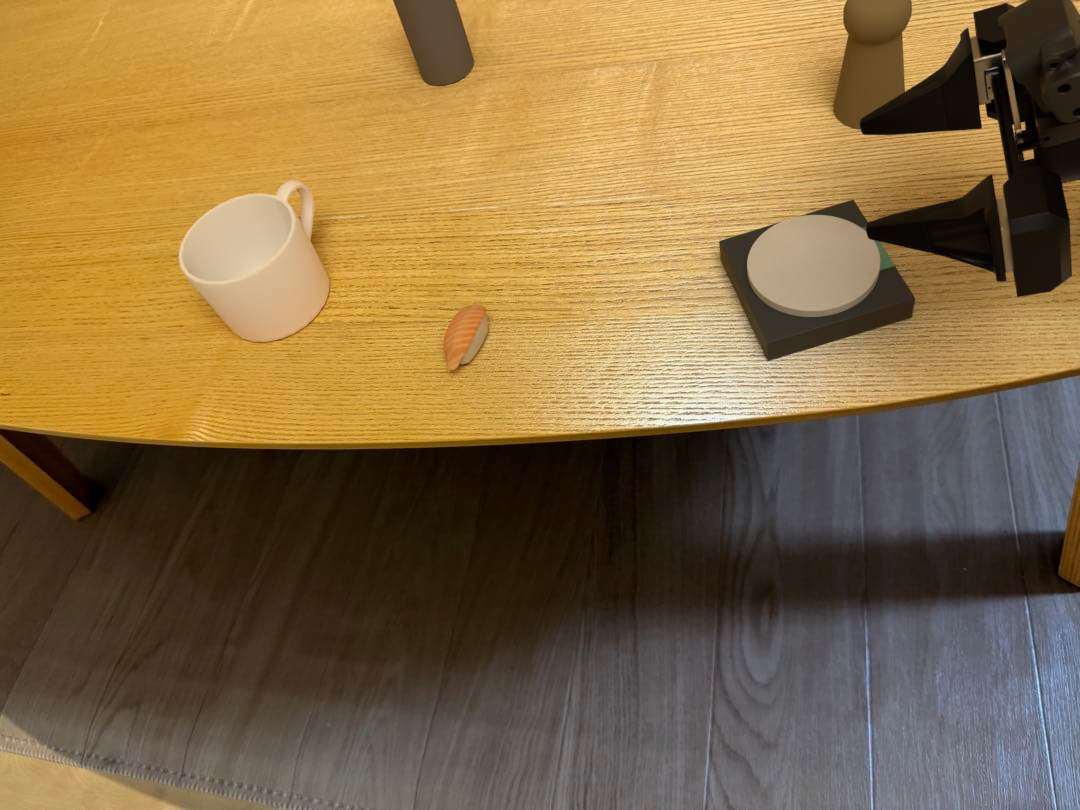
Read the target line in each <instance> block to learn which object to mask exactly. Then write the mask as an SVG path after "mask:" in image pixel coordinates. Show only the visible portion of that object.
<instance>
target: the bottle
mask: <svg viewBox="0 0 1080 810" xmlns="http://www.w3.org/2000/svg"><path fill="white" fill-rule="evenodd" d="M392 1H393V4H394V7H395V9H396V13H397V15H398V18H399V21H400V24H401V26H402V29H403V31H404V34H405V36H406V39H407V42H408V44H409V47H410V50H411V52H412V55H413V58H414V60H415V64H416V66H417V69H418V71H419V73H420V76H421V78H422V80H423V81H424V82H425V83H427V84H429V85H431V86H447V85H451V84H454V83H457V82H458V81H460V80H462V79H464V78H465V77H466V76H468V75H469V74H470V72H471V71H472V69H473V68H474V66H475V65H474V64H475V58H474V56H473V52H472V48H471V46H470V43H469V39H468V35H467V32H466V28H465V25H464V22H463V19H462V16H461V14H460V10H459V7H458V4H457V0H392Z"/></svg>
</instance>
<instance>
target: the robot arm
mask: <svg viewBox="0 0 1080 810" xmlns="http://www.w3.org/2000/svg"><path fill="white" fill-rule="evenodd" d="M972 15H973V23H974V31H975V35H974V36H970V29H969V27H966V28H965V29H963V30H962V31H961V33H960V34H959V37H960V38H959V39H960V40H959V42H958V44H957V45H956V47H955V49H954V50H953V51H952V53H951V54H950V55H949V58H948V59H947V60H946V62H945V63H944V64H943V65H942V66H941V67H939V69H937V70H936V71H935V72H933V73H932V74H930V75H929V76H927V77H926V78H925V79H923V80H921V81H920V82H919V83H917V84H915V85H914V86H912V87H911V88H909V89H907V90H905V92H904V93H902V94H900V95H899V96H897V97H896V98H894V99H892V100H891V101H889V102H887V103H886V104H884V105H882V106H881V107H879V108H877V109H876V110H874V111H872V112H871V113H869V114H867V115H866V116H864V117H863V118H861V119H860V128H861V129H860V131H861V134H862V135H864V136H896V135H911V134H924V133H926V134H927V133H939V132H940V133H941V132H957V131H973V130H981V129H983V126H982V125H983V124H982V118H981V117H982V115H981V110H980V109H981V108H980V106H984V105H985V112H986V118H989V119H992V120H996V121H997V123H998V130H999V135H1000V141H1001V147H1002V152H1003V158H1004V164H1005V169H1006V174H1007V180H1006V181H1005V182H1004V183H1003V184H1002V192H1003V193H1002V194H1003V197H1001V198H997V195H996V190H995V183H994V177H993V174H992V173H991V174H989V175H987V176H986V177H984V179H982V180H981V181H980V182H978V184H976V185H975V186H974V187H973V188H972V189H970V190H969V191H968V192H967V193H966V194H964V195H962V196H961V197H958V198H954V199H950V200H947V201H942V202H938V203H934V204H933V203H932V204H929V205H925V206H921V207H917V208H913V209H909V210H904V211H900V212H896V213H892V214H889V215H886V216H883V217H879V218H876V219H874V220H871V221H870V220H869V221H867V222H868V223H867V224H866V225H865V228H866V233H867V236H868V238H869V239H871V240H875V241H879V242H881V243H884V244H888V245H893V246H896V247H902V248H907V249H911V250H915V251H918V252H919V251H920V252H924V253H928V254H931V255H936V256H940V257H944V258H948V259H951V260H954V261H958V262H960V263H964V264H967V265H970V266H973V267H976V268H979V269H982V270H985V271H988V272H992V273H993V274H995V280H996V282H998V283H1004V282H1007V273H1011V272H1012V273H1013V280H1014V286H1015V292H1016V297H1017V298H1020V297H1026V296H1033V295H1039V294H1045V293H1046V294H1047V293H1051V292H1053V291H1055V289H1057V288H1058V287H1060V286H1061V285H1062V284H1063V283H1065V282H1066V281H1068V280H1069V279H1071V278H1072V277H1073V266H1072V264H1073V263H1072V240H1071V239H1072V238H1071V220H1070V215H1069V212H1068V211H1069V210H1068V207H1067V202H1066V197H1065V192H1064V187H1063V184H1067V183H1072V182H1076V181H1080V13H1079V11H1078V9H1077V7H1076V5H1075V3H1074V2H1073V0H1026V1H1023V2H1021V3H1020V4H1019V5H1017V6H1014V5H1011V4H1010V3H1008V2H1004V3H1001V4H997V5H994V6H991V7H987V8H984V9H980V10H976V11H973V14H972ZM1022 123H1024V129H1022ZM1028 151H1032V152H1033V158H1028V159H1025V158H1024V157H1025V156H1024V152H1028Z"/></svg>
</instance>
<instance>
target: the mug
mask: <svg viewBox="0 0 1080 810" xmlns="http://www.w3.org/2000/svg"><path fill="white" fill-rule="evenodd" d="M295 191H297V193H298V194H299V197H300V218H299V216H298V213H297V211H296V210H295V209H294V207H293V206H292V205H291V204H290V202H289V200H290V197H291V196H292V194H293V192H295ZM314 215H315V202H314V197H313V195H312V191H311V189H310V188H309V187H308V186H307V185H306V184H305V183H304V182H302V181H301V180H299V179H292V180H291V179H290V180H287V181H285V182H284V183H282V184H281V185H280V186H279V188H278V189H277V191H276V192H275V194H269V193H264V192H262V193H260V192H259V193H248V194H244V195H239V196H236V197H233V198H231V199H228V200H225V201H224V202H223V201H222V202H221V203H219V204H217V205H216V206H214V207H213V208H211V209H210V210H207V211H206V212H205V213H204V214H203V215H201V217H199V219H197V220H196V221H195V222H194V223H193V225H192V226H191V227H190V228H189V230H188V231H187V232H186V233H185V235H184V237H183V239H182V241H181V243H180V247H179V251H178V262H179V268H180V271H181V272H182V273H183V275H184V276H185V278H186V279H187V280H188V281H189V282H190V283H191V285H192V286H193V287H194V288H195V290H196V291H197V292H198V293H199V294H200V295H201V297H202V298H203V299H204V300H205V301H206V302H207V304H209V306H210V307H211V308H212V310H214V312H215V313H216V314H217V315H218V316H219V317H220V319H221V320H222V321H223V322H224V324H226V326H227V328H229V329H230V330H231V332H232V333H233V334H234V335H236V336H238V338H240V339H242V340H244V341H245V340H246V341H249V342H253V343H269V342H274V341H279V340H283V339H286V338H288V337H290V336H292V335H294V334H296V333H298V332H299V331H301V330H302V329H304V328H305V327H307V326H308V325H309V324H310V323H311V322H312V321H313V320H314V319H315V318H316V317H317V316H319V314H320V312H321V311H322V309H323V308H324V306H325V305H326V302H327V299H328V297H329V294H330V286H331V285H330V284H331V281H330V279H329V275H328V272H327V271H326V269H325V266H324V265H323V262H322V261H321V258H320V256H319V255H318V253H317V251H316V249H315V247H314V245H313V243H312V241H311V240H312V234H313V225H314V224H313V223H314V217H315V216H314Z"/></svg>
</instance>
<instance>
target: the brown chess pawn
mask: <svg viewBox="0 0 1080 810" xmlns="http://www.w3.org/2000/svg"><path fill="white" fill-rule="evenodd" d="M842 9H843V10H842V11H843V12H842V13H843V14H842V22H843V27H844V29H845V31H846V33H847V34H848V36H847V39H846V44H845V49H844V54H843V59H842V63H841V68H840V73H839V78H838V82H837V87H836V91H835V95H834V101H833V114H834V115H835V118H836V120H838V121H839V122H840V123H842V125H844V126H847V127H849V128H852V129H858V130H861V128H860V119H861V118H863V117H864V116H866V115H867V114H869V113H871V112H872V111H874V110H876V109H877V108H879V107H881V106H882V105H884V104H886V103H887V102H889V101H891V100H892V99H894V98H896V97H897V96H899V95H900V94H902V93H904V92H905V91H906V86H905V85H906V83H905V63H904V60H905V59H904V42H903V41H904V40H903V39H904V37H903V32H904V31H905V30H906V29H907V27H908V25H909V23H910V20H911V18H912V13H913V3H912V0H846V1H845V3H844V6H843V8H842Z"/></svg>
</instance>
